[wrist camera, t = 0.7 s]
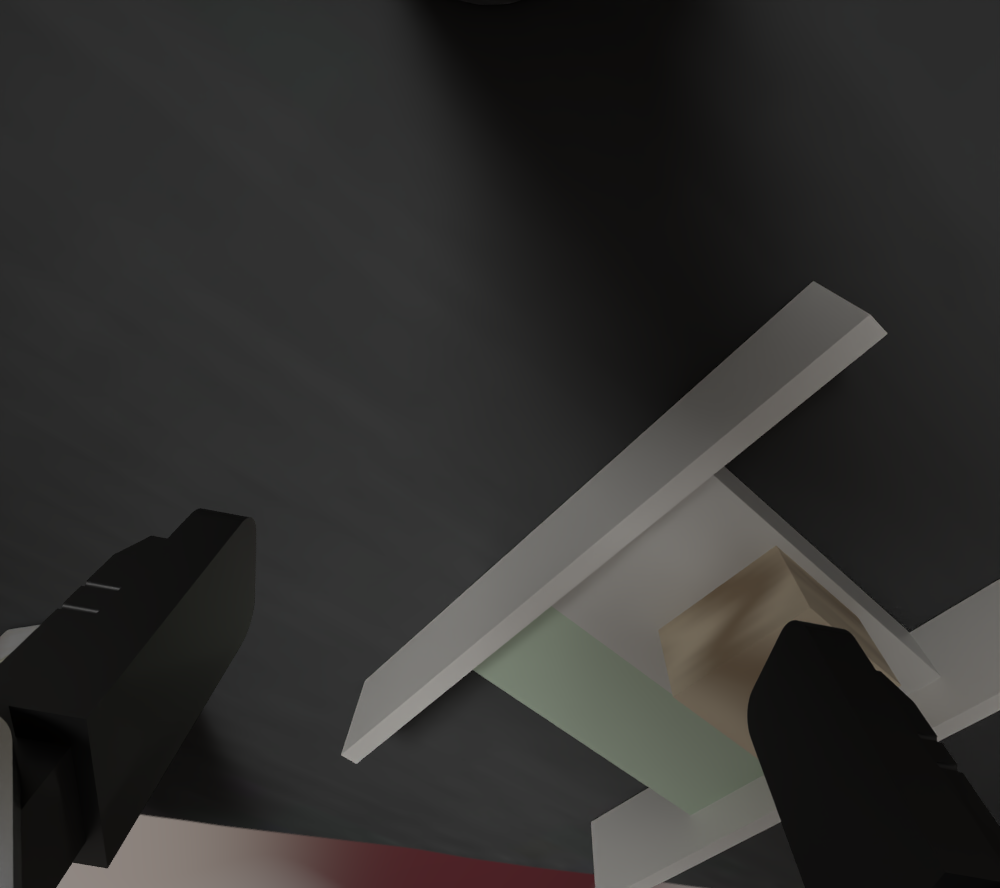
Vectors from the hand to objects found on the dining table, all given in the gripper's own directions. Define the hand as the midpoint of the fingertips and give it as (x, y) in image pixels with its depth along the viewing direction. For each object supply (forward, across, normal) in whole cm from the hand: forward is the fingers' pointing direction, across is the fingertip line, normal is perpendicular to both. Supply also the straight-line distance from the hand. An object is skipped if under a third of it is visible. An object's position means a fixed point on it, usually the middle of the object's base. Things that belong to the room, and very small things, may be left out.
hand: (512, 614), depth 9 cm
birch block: (+17, -14, +12) cm, 25 cm away
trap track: (+20, -12, +15) cm, 27 cm away
